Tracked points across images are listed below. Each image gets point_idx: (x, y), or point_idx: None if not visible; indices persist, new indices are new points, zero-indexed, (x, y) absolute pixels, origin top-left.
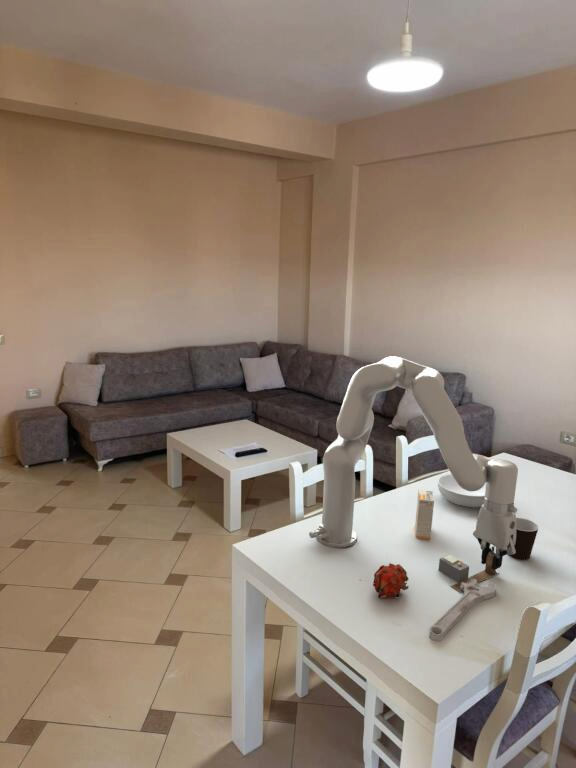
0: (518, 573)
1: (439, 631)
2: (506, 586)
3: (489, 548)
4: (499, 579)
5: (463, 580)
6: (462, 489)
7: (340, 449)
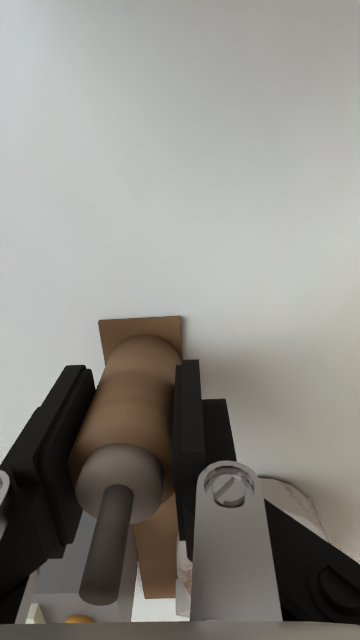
0: (268, 165)
1: None
2: (307, 393)
3: (36, 501)
4: (233, 369)
5: (137, 537)
6: None
7: None
